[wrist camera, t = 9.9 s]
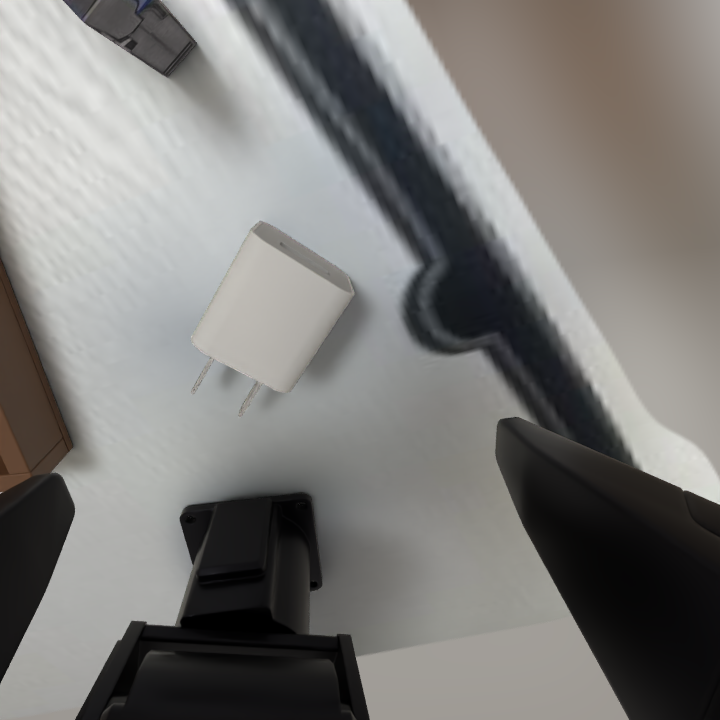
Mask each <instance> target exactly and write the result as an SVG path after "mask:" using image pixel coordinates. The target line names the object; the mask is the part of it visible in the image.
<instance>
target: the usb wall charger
mask: <svg viewBox="0 0 720 720" xmlns="http://www.w3.org/2000/svg"><path fill="white" fill-rule="evenodd" d="M354 295H355V293H354V290H353V287H352V284H351V281H350V279H349V277H348V275H347V274H345V273H344V272H343V271H342V270H340V269H339V268H338V267H336V266H335V265H333V264H332V263H330V262H328V261H327V260H325V259H324V258H322V257H321V256H319V255H317V254H316V253H314V252H313V251H311V250H310V249H308V248H306V247H305V246H303V245H302V244H300V243H299V242H297V241H295V240H294V239H292V238H291V237H289V236H288V235H286V234H284V233H283V232H281V231H280V230H278V229H277V228H275V227H273V226H271V225H270V224H268V223H266V222H263V221H259V222H258V223H257V224H256V225H255V226H254V227H252V228H251V230H250V232H249V233H248V235H247V237H246V239H245V241H244V242H243V244H242V246H241V248H240V250H239V251H238V253H237V255H236V257H235V259H234V261H233V262H232V264H231V266H230V268H229V270H228V271H227V273H226V275H225V277H224V279H223V280H222V282H221V284H220V286H219V288H218V290H217V291H216V293H215V295H214V297H213V299H212V300H211V302H210V304H209V306H208V308H207V310H206V311H205V313H204V315H203V317H202V319H201V320H200V322H199V324H198V326H197V328H196V329H195V331H194V333H193V335H192V337H191V342H192V344H193V345H194V346H195V347H196V348H197V349H198V350H199V351H201V352H202V353H204V354H206V355H207V356H209V357H210V359H209V361H208V363H207V364H206V366H205V368H204V370H203V371H202V373H201V375H200V377H199V378H198V380H197V382H196V384H195V385H194V387H193V389H192V391H191V394H194V393H195V391H196V390H197V388H198V386H199V385H200V383H201V381H202V379H203V378H204V376H205V374H206V372H207V371H208V369H209V367H210V366H211V364H212V362H213V360H214V359H215V360H217V361H219V362H221V363H223V364H225V365H227V366H229V367H231V368H233V369H235V370H237V371H239V372H241V373H243V374H244V375H246V376H248V377H250V378H252V379H254V380H256V381H257V382H256V383H255V385H254V387H253V388H252V390H251V391H250V393H249V395H248V396H247V398H246V400H245V401H244V403H243V405H242V406H241V409H240V412H239V417H241V416H242V415H243V414H244V412H245V410H246V409H247V407H248V406H249V404H250V403H251V401H252V400H253V398H254V396H255V395H256V393H257V392H258V390H259V389H260V387H261V385H262V384H264V385H266V386H268V387H270V388H272V389H274V390H276V391H279V392H283V393H288V392H291V390H292V389H293V387H294V386H295V384H296V383H297V381H298V380H299V378H300V377H301V375H302V374H303V372H304V371H305V369H306V368H307V366H308V365H309V363H310V362H311V360H312V358H313V357H314V355H315V354H316V352H317V351H318V349H319V348H320V346H321V345H322V343H323V342H324V340H325V339H326V337H327V336H328V334H329V333H330V331H331V330H332V328H333V327H334V325H335V324H336V322H337V320H338V319H339V317H340V316H341V314H342V313H343V311H344V310H345V308H346V307H347V305H348V304H349V302H350V301H351V299H352V298H353V296H354Z"/></svg>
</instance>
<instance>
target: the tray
mask: <svg viewBox="0 0 720 720" xmlns="http://www.w3.org/2000/svg"><path fill="white" fill-rule="evenodd" d="M72 448H73V445H72V443H71V440H70V437H69V435H68V432H67V430H66V427H65V424H64V422H63V419H62V417H61V414H60V411H59V409H58V406H57V404H56V401H55V399H54V396H53V393H52V391H51V388H50V386H49V383H48V380H47V378H46V375H45V373H44V370H43V367H42V365H41V362H40V360H39V357H38V354H37V352H36V349H35V347H34V344H33V342H32V339H31V336H30V334H29V331H28V329H27V326H26V323H25V321H24V318H23V316H22V313H21V310H20V308H19V305H18V303H17V300H16V297H15V295H14V292H13V290H12V287H11V284H10V282H9V279H8V277H7V274H6V272H5V269H4V266H3V264H2V261H1V259H0V492H5V491H6V490H8V489H10V488H12V487H14V486H16V485H17V484H19V483H21V482H23V481H25V480H27V479H28V478H30V477H32V476H35V475H39V474H47V473H51V472H52V470H53V469H54V468H55V467H56V466H57V465H58V464H59V462H60V461H61V460H62V459H63V458H64V457H65V456H66V455H67V453H68V452H70V450H71V449H72Z"/></svg>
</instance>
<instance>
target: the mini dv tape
mask: <svg viewBox="0 0 720 720" xmlns="http://www.w3.org/2000/svg"><path fill="white" fill-rule="evenodd" d="M63 1H64V2H65V3H66V4H67V5H68V6H69V7H70V8H71V9H72V10H73V12H74V13H75V14H76V15H77V16H78V17H79V18H80V19H81V20H82V21H83V22H84V23H85V24H87V25H88V26H89V27H91V28H93V29H94V30H96V31H97V32H99V33H100V34H102V35H103V36H105V37H106V38H108V39H109V40H111V41H112V42H114V43H115V44H117V45H118V46H120V47H121V48H123V49H124V50H126V51H127V52H129V53H130V54H132V55H134V56H135V57H137V58H138V59H140V60H141V61H143V62H144V63H146V64H147V65H149V66H150V67H152V68H153V69H155V70H156V71H158V72H159V73H161V74H162V75H164V76H165V77H168V76H169V75H170V73H171V72H172V71H173V70H174V69H175V68H176V66H177V65H178V64H179V63H180V62H181V61H182V60H183V58H184V57H185V56H186V55H187V54H188V53H189V51H190V50H191V49H192V48H193V47H194V46H195V44H196V43H197V42H196V41H195V40H194V39H193V38H192V37H191V35H190V34H189V33H188V32H187V31H186V30H185V28H184V27H183V26H182V25H181V24H180V23H179V21H178V20H177V19H176V18H175V17H174V16H173V14H172V13H171V12H170V11H169V10H168V9H167V8H166V6H165V5H164V4H163V3H162V2H161V1H160V0H63Z"/></svg>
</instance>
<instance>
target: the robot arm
mask: <svg viewBox="0 0 720 720" xmlns="http://www.w3.org/2000/svg"><path fill="white" fill-rule="evenodd" d="M495 454H496V460H497V463H498V466H499V468H500V471H501V473H502V476H503V478H504V481H505V483H506V485H507V488H508V490H509V493H510V495H511V498H512V500H513V503H514V505H515V508H516V510H517V512H518V515H519V517H520V519H521V522H522V524H523V526H524V528H525V530H526V532H527V534H528V536H529V537H530V539H531V541H532V543H533V545H534V547H535V548H536V550H537V552H538V554H539V556H540V558H541V559H542V561H543V563H544V565H545V567H546V568H547V570H548V572H549V574H550V576H551V578H552V579H553V581H554V583H555V585H556V587H557V589H558V590H559V592H560V594H561V596H562V598H563V600H564V601H565V603H566V605H567V607H568V609H569V610H570V612H571V614H572V616H573V618H574V620H575V621H576V623H577V625H578V627H579V629H580V630H581V632H582V634H583V636H584V638H585V640H586V642H587V643H588V645H589V647H590V649H591V651H592V652H593V654H594V656H595V658H596V660H597V662H598V663H599V665H600V667H601V669H602V670H603V672H604V674H605V676H606V678H607V680H608V682H609V684H610V685H611V687H612V689H613V691H614V693H615V694H616V696H617V698H618V700H619V702H620V704H621V705H622V707H623V709H624V711H625V713H626V714H627V716H628V718H629V720H720V505H719V504H717V503H714V502H712V501H709V500H707V499H705V498H703V497H700V496H698V495H696V494H694V493H691V492H689V491H683V490H682V489H681V488H680V487H677V486H675V485H673V484H670V483H668V482H666V481H664V480H661V479H659V478H657V477H654V476H652V475H650V474H647V473H645V472H643V471H641V470H638V469H636V468H634V467H631V466H629V465H627V464H625V463H622V462H620V461H618V460H615V459H613V458H611V457H608V456H606V455H604V454H602V453H599V452H597V451H595V450H592V449H590V448H588V447H585V446H583V445H581V444H579V443H576V442H574V441H572V440H569V439H567V438H565V437H563V436H560V435H558V434H556V433H553V432H551V431H549V430H546V429H544V428H542V427H540V426H537V425H535V424H533V423H530V422H528V421H526V420H524V419H521V418H519V417H513V418H505V419H500V420H499V421H498V424H497V432H496V449H495ZM301 502H302V503H305V504H304V505H299V504H298V503H301ZM74 514H75V506H74V502H73V500H72V498H71V495H70V493H69V491H68V489H67V486H66V484H65V482H64V479H63V478H62V476H61V475H60V474H58V473H47V474H39V475H35V476H32V477H30V478H28V479H27V480H25V481H23V482H21V483H19V484H17V485H16V486H14V487H12V488H10V489H8V490H6V491H5V492H3V493H1V494H0V683H1V681H2V679H3V677H4V675H5V673H6V671H7V669H8V667H9V665H10V663H11V661H12V659H13V657H14V655H15V653H16V651H17V649H18V647H19V645H20V643H21V641H22V638H23V636H24V634H25V632H26V630H27V628H28V626H29V624H30V622H31V620H32V618H33V616H34V614H35V612H36V610H37V608H38V606H39V604H40V602H41V600H42V598H43V596H44V593H45V591H46V589H47V586H48V584H49V582H50V579H51V577H52V574H53V571H54V569H55V566H56V563H57V561H58V558H59V555H60V553H61V550H62V548H63V545H64V542H65V540H66V537H67V534H68V532H69V529H70V526H71V524H72V521H73V518H74ZM188 516H193V517H195V518H190V517H188ZM180 523H181V526H182V530H183V533H184V537H185V540H186V543H187V547H188V550H189V554H190V557H191V560H192V564H193V568H192V572H191V575H190V578H189V581H188V585H187V588H186V591H185V595H184V598H183V601H182V604H181V608H180V611H179V614H178V618H177V621H176V624H175V626H164V625H148V624H147V622H143V621H131V623H130V625H129V627H128V629H127V630H126V632H125V634H124V636H123V638H122V640H118V641H117V643H116V645H115V647H114V648H113V650H112V652H111V654H110V656H109V658H108V660H107V661H106V663H105V665H104V667H103V669H102V671H101V673H100V674H99V676H98V678H97V680H96V682H95V684H94V686H93V687H92V689H91V691H90V693H89V695H88V697H87V699H86V700H85V702H84V704H83V706H82V708H81V710H80V712H79V713H78V715H77V717H76V719H75V720H370V719H369V714H368V710H367V705H366V701H365V697H364V692H363V688H362V683H361V679H360V675H359V670H358V666H357V661H356V657H355V652H354V648H353V644H352V639H351V635H346V634H337V636H322V635H309V606H310V591H315V590H318V589H320V588H321V586H322V573H321V565H320V558H319V550H318V543H317V535H316V528H315V520H314V513H313V505H312V499H311V497H310V496H309V495H308V494H305V493H299V494H290V495H281V496H273V497H264V498H256V499H247V500H239V501H230V502H221V503H213V504H204V505H196V506H189V507H186V508H185V509H183V511H182V513H181V516H180ZM313 581H314V582H313Z"/></svg>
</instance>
